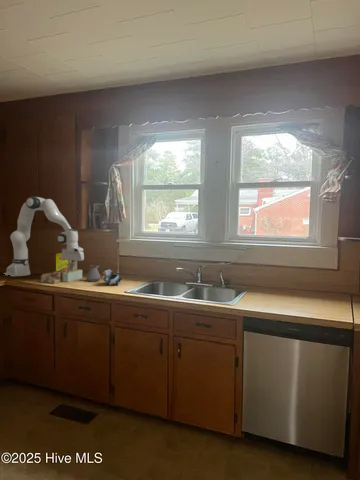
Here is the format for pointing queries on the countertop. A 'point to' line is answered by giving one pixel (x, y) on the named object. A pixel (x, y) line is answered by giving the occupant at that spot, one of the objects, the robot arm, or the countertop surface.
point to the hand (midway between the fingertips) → (72, 265)
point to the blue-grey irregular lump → (111, 277)
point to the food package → (61, 263)
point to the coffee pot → (94, 273)
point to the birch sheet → (71, 267)
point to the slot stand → (72, 276)
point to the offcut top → (57, 274)
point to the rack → (50, 278)
